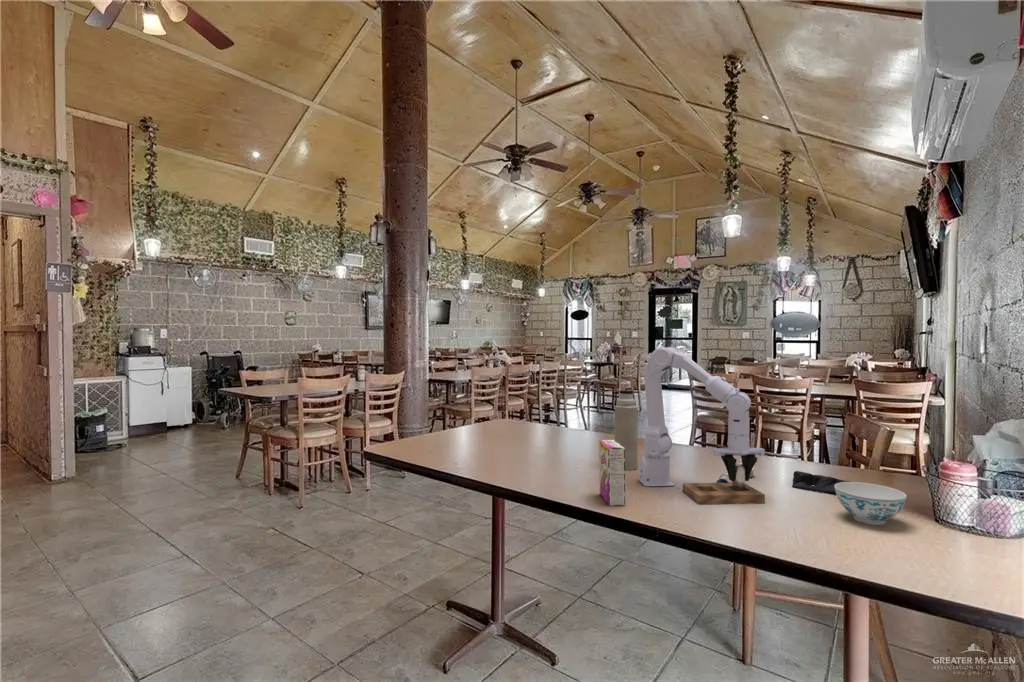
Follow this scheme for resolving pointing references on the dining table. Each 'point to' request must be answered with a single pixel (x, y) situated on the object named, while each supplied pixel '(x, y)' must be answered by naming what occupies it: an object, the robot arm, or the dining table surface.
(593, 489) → the dining table surface
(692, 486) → the wooden holder tray
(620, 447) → the candy bar box
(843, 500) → the chinaware
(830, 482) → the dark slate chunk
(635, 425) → the thermos bottle
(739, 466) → the steel pin
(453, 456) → the dining table surface
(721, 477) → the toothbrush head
